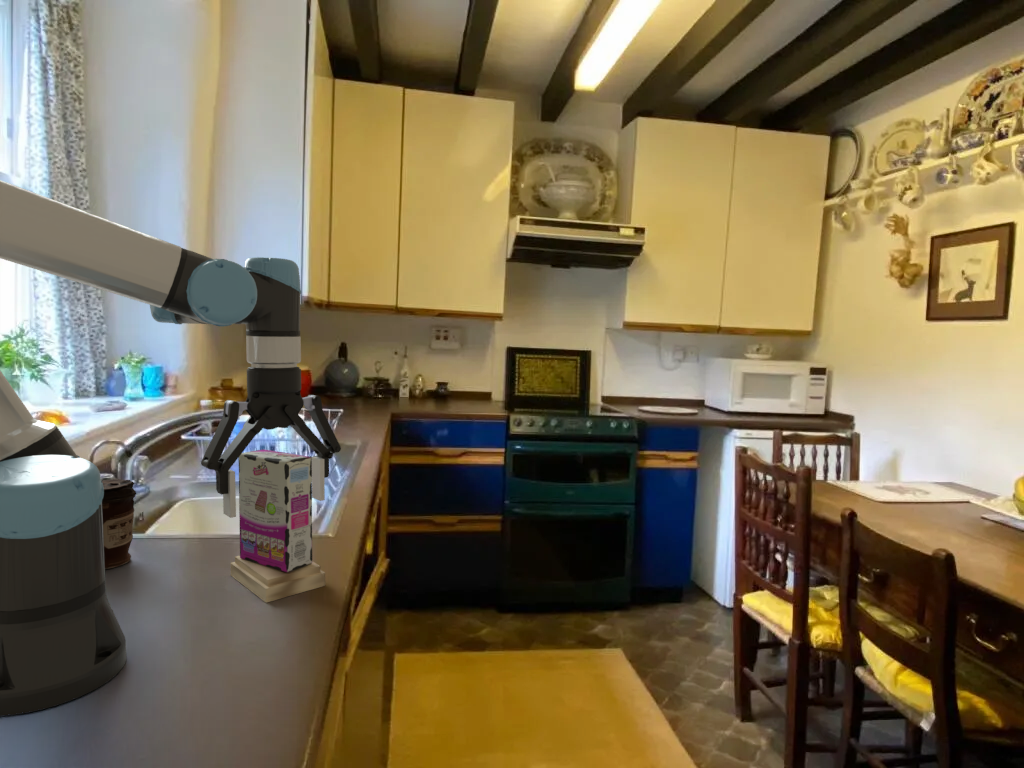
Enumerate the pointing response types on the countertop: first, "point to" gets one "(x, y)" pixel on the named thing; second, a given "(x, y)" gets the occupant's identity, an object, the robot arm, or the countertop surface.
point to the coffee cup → (117, 521)
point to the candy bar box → (275, 509)
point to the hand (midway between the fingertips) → (276, 506)
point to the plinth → (276, 579)
